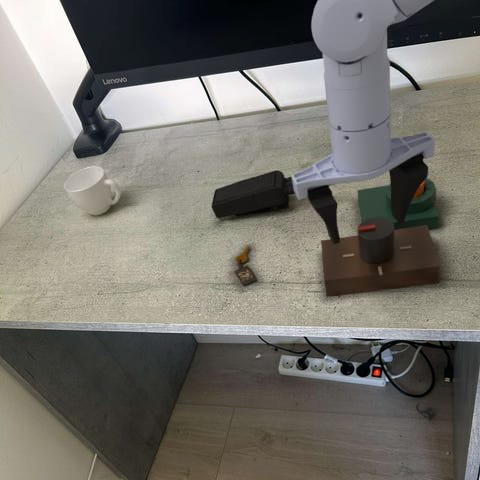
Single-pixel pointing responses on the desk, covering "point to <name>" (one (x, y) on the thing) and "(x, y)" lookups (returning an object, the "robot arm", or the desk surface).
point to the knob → (376, 239)
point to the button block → (418, 214)
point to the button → (420, 190)
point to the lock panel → (380, 264)
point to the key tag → (244, 269)
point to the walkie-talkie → (253, 195)
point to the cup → (92, 190)
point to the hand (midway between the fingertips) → (365, 228)
